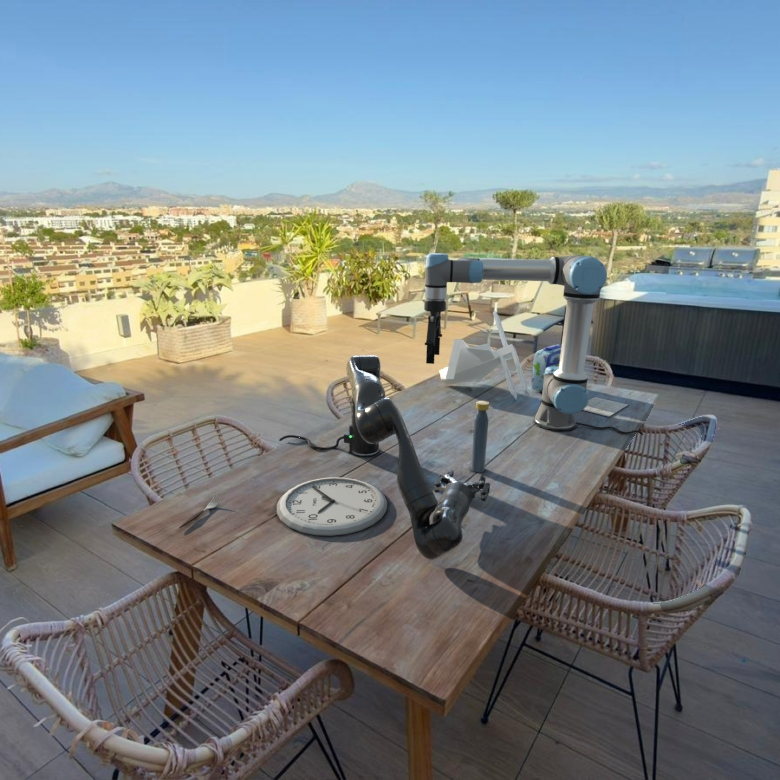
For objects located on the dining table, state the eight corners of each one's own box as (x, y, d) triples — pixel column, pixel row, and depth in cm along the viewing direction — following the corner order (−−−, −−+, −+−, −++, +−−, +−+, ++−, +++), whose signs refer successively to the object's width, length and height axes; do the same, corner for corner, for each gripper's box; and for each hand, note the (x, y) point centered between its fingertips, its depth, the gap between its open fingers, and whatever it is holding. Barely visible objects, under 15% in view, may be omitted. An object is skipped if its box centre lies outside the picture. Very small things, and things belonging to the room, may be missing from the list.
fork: (174, 529, 130) (174, 521, 130) (216, 499, 144) (215, 492, 144) (183, 531, 129) (182, 524, 129) (223, 501, 144) (223, 494, 143)
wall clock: (392, 527, 129) (268, 531, 127) (391, 533, 130) (269, 537, 127) (383, 473, 158) (282, 475, 155) (383, 478, 158) (282, 480, 156)
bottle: (468, 468, 166) (473, 402, 160) (479, 465, 168) (484, 401, 162) (475, 473, 163) (480, 406, 156) (487, 471, 164) (492, 405, 158)
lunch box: (547, 397, 237) (552, 352, 231) (526, 391, 245) (531, 348, 238) (574, 386, 255) (580, 344, 249) (554, 381, 262) (559, 340, 256)
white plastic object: (461, 429, 252) (437, 405, 227) (444, 352, 274) (420, 323, 250) (535, 404, 240) (518, 377, 215) (510, 326, 262) (492, 293, 237)
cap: (473, 407, 160) (474, 401, 160) (484, 405, 162) (484, 400, 161) (480, 411, 157) (481, 405, 156) (490, 409, 158) (491, 403, 158)
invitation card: (608, 416, 214) (573, 407, 224) (608, 416, 214) (573, 408, 224) (628, 404, 229) (594, 396, 238) (628, 405, 229) (594, 397, 238)
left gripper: (483, 495, 129) (493, 467, 144) (428, 485, 133) (443, 459, 148) (481, 521, 131) (491, 491, 146) (426, 511, 136) (441, 483, 150)
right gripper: (429, 294, 194) (427, 350, 200) (418, 303, 171) (416, 366, 177) (450, 295, 192) (447, 351, 199) (441, 304, 169) (438, 368, 175)
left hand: (467, 475), depth 147 cm, fingers open, 8 cm apart
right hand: (432, 358), depth 188 cm, fingers open, 13 cm apart
